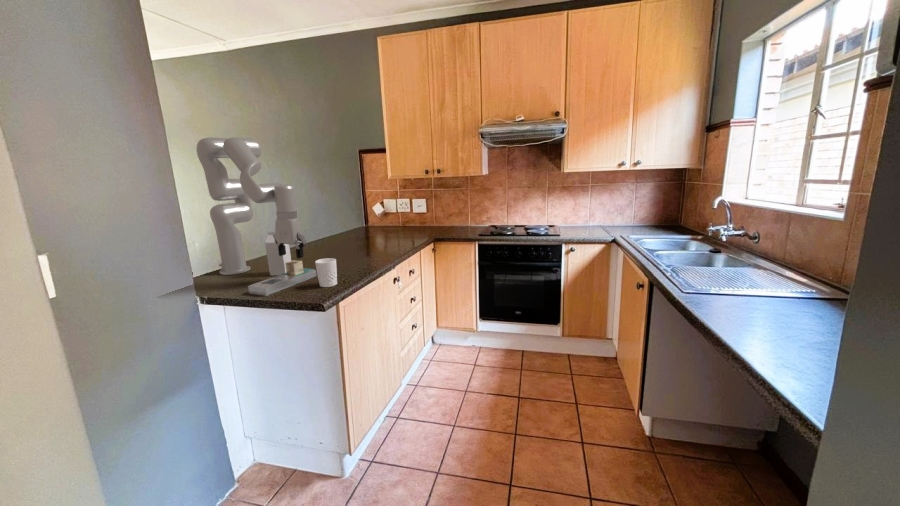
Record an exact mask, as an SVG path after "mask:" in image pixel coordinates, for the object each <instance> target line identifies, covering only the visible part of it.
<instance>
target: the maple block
mask: <svg viewBox="0 0 900 506" xmlns="http://www.w3.org/2000/svg"><path fill="white" fill-rule="evenodd" d="M285 264H286V271H287V275H293V276H295V275H298V274H300V273H303V272H304V270H303V268H304V265H303V260H296V259H295V260H294V259H293V260H291V261H290V262H286V263H285Z"/></svg>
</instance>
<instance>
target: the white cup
mask: <svg viewBox="0 0 900 506" xmlns="http://www.w3.org/2000/svg"><path fill="white" fill-rule="evenodd" d="M314 264H315V270H316V275H317V276H316V277H317V279H318V283H319V287H320V288H330V287H334V286H336V285H338V268H337V266H338V265H337V259H336V258H333V257H330V258H329V257H328V258H327V257H326V258H320V259H317V260H315V262H314Z"/></svg>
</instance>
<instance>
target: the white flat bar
mask: <svg viewBox="0 0 900 506" xmlns="http://www.w3.org/2000/svg"><path fill="white" fill-rule="evenodd" d="M303 270H304V272H303V273H300V274H298V275H295V276H293V275H287V272H286V273H283V274H281V275H275V276H272V277H270V278H267V279H264V280H262V281H258V282H255V283H252V284H250V285H247V288H248V294H250V295H255V296H256V295H257V296H265V297H267V296H270V295H272V294H276V293H278V292H280V291H282V290H284V289H287V288H290V287H293V286H295V285H298V284H300V283H303V282H305V281H308V280H310V279H314V278H315V277H318V276H317V270H316V268H315V269H313V268H307V267H303Z"/></svg>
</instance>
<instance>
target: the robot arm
mask: <svg viewBox="0 0 900 506" xmlns="http://www.w3.org/2000/svg"><path fill="white" fill-rule="evenodd" d="M196 155H197V158H198V160H199V163H200V164H201V166H202V168H203V173H204V177H205V181H206V184H207V189H208V193H209V196H210V197H211V199H212V200H214V201H218V202H223V201H224V202H225V201H234V202H228V203H219V204H216V205H214V206H212V207H211V208H210V210H209V215H210V219H211V221H212V224H213V226H214V230H215V234H216V239H217V245H218V250H219V255H220V260H221V262H220V263H219V264H218V266H219V267H221V269H220V270H219V274H220V275H222V276H228V275H229V276H230V275H231V276H232V275H238V274H243V273H246V272H249V271H250V270H251V266H250V265H247V261H246V257H245V250H244V249H245V248H244V244H243V239H242V233H241V231H240V230H239V229H238V227H237V226H236V225H237V224H242V223H246V222H250V221H251V220H252V218H253V215H254V212H253V211H254V210H253V206H252V205H253V204H252V202H254V203H255V204H266V203H275V211H276V213H275V214H276V219H275V222H274V223H275V227H274V228H275V229H274V232H275V234H274V235H273V238H274V240H275V242H276V244H277V246H278V251H279V256H282V255H286V248H285V245H284V244H289V245H294V246H295V248H296V249H295V254H296V259H301V258H303V257H304V256H305V255H304V248H305V246H306V243H307V237H305V236H304V235H302V230H301V229H302V228H301V224H300V221H299V219H298V212H297V211H298V210H297V202H296V192H295V190H296V189H295V187H294V185H292V184H282V183H278V182H277V183H275V182H274V183H257V182H256V180H254V178H252V177H253V176H255V175H256V174H258V173H259V172H260V171H261V169H262V163H261V161H260V160H259V159H258V158H259V157H260V156H261V155H262V146H261V144H260V143H259V141H257V140H256V139H254V138H249V137H236V136H235V137H234V136H233V137H228V138H225V137H224V138H223V137H204V138H201V139H200V140H199V141H197V144H196ZM219 159H230V160H231V162H233V163H234V165H235V166H236V168H237V169H238V170H239V171H240V175H239V178H229V175H228V171H227V167H226V166H225V165H224V164H223V162H222V161H221V160H219Z"/></svg>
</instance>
